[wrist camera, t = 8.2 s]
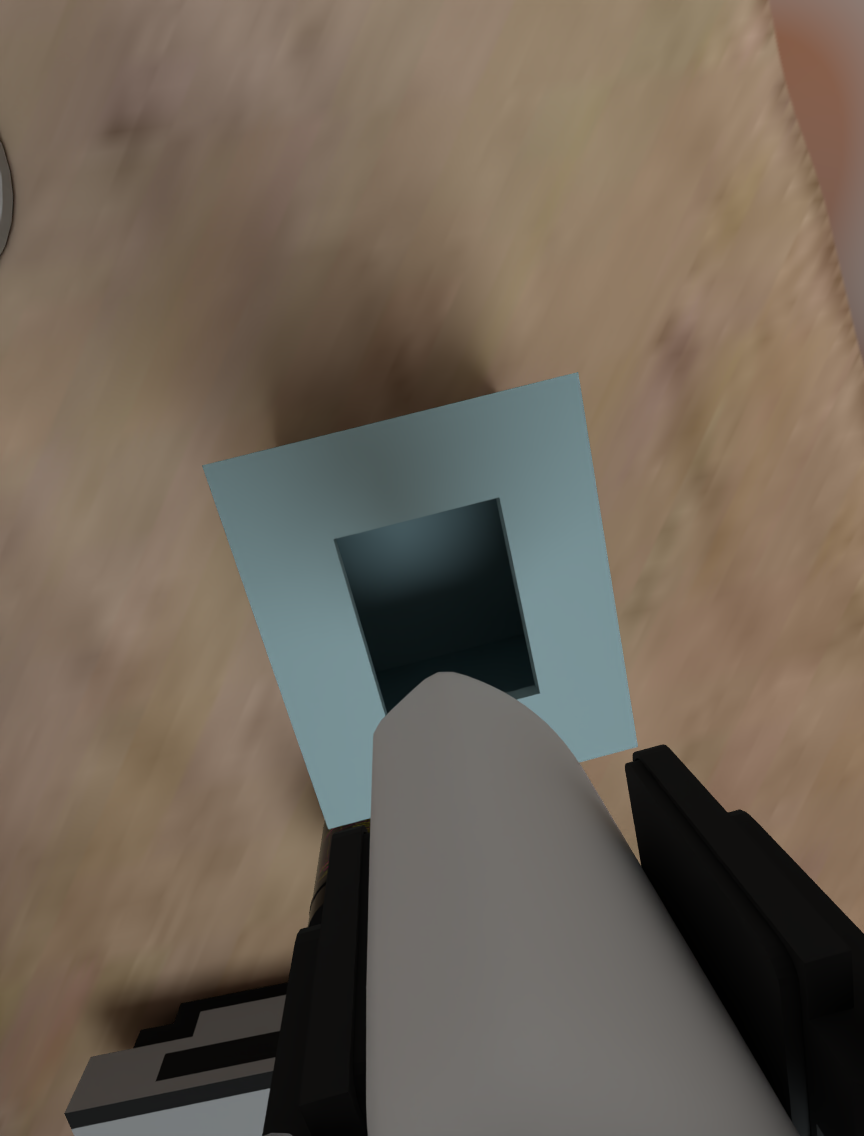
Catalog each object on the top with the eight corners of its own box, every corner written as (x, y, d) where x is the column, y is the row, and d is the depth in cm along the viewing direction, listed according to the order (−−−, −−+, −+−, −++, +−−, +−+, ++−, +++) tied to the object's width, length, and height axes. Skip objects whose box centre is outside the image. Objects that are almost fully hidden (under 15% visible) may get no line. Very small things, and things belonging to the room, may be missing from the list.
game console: (115, 1004, 42) (53, 1136, 34) (517, 926, 44) (546, 1035, 36) (183, 1183, 48) (143, 1334, 40) (540, 1107, 49) (570, 1237, 41)
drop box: (276, 451, 33) (202, 465, 19) (498, 396, 33) (578, 372, 20) (348, 684, 37) (328, 829, 24) (545, 632, 37) (637, 746, 24)
